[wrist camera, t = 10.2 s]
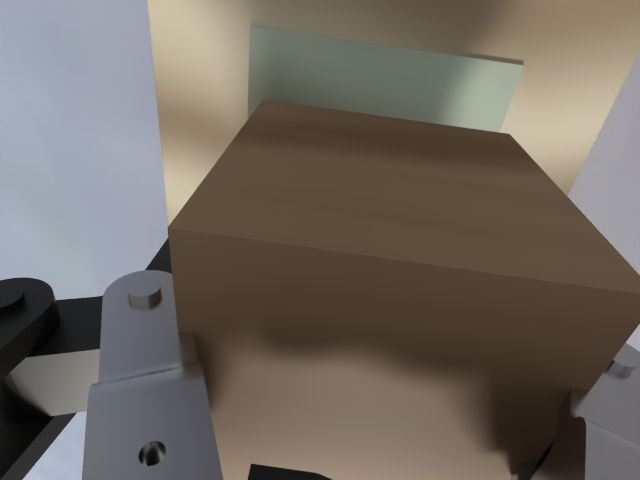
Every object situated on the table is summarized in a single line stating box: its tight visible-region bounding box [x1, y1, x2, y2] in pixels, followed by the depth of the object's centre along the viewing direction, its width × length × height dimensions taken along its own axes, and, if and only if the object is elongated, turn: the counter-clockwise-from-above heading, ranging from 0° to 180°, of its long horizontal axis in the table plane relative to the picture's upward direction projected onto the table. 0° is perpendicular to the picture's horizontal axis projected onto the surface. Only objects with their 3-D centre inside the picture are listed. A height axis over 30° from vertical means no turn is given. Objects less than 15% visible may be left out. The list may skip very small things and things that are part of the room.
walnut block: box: [168, 99, 640, 480], centre depth 9 cm, size 6×6×6 cm
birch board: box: [148, 0, 640, 225], centre depth 15 cm, size 20×14×2 cm
